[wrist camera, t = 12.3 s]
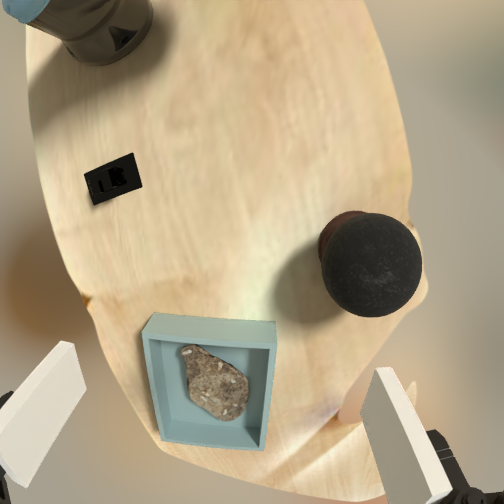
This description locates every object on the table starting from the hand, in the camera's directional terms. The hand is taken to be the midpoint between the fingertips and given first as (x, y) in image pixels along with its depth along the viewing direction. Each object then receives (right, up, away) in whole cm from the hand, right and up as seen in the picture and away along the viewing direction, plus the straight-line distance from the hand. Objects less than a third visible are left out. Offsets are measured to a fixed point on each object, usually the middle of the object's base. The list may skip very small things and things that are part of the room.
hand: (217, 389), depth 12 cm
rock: (-5, -17, +40) cm, 44 cm away
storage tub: (-5, -17, +41) cm, 45 cm away
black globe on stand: (+17, +6, +34) cm, 38 cm away
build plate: (-20, +17, +32) cm, 42 cm away
